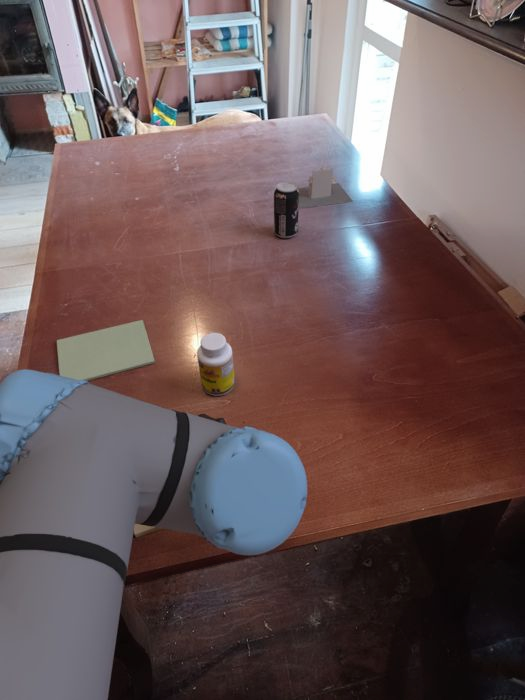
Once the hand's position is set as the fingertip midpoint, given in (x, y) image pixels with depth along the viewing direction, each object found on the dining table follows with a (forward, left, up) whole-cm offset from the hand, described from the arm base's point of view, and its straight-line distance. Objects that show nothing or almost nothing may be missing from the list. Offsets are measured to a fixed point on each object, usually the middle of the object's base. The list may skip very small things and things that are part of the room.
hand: (140, 449), depth 62 cm
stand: (+1, -3, -7) cm, 8 cm away
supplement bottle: (+14, +14, -8) cm, 21 cm away
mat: (-3, +29, -7) cm, 30 cm away
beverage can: (+43, +55, -8) cm, 70 cm away
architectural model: (+59, +70, -8) cm, 92 cm away
